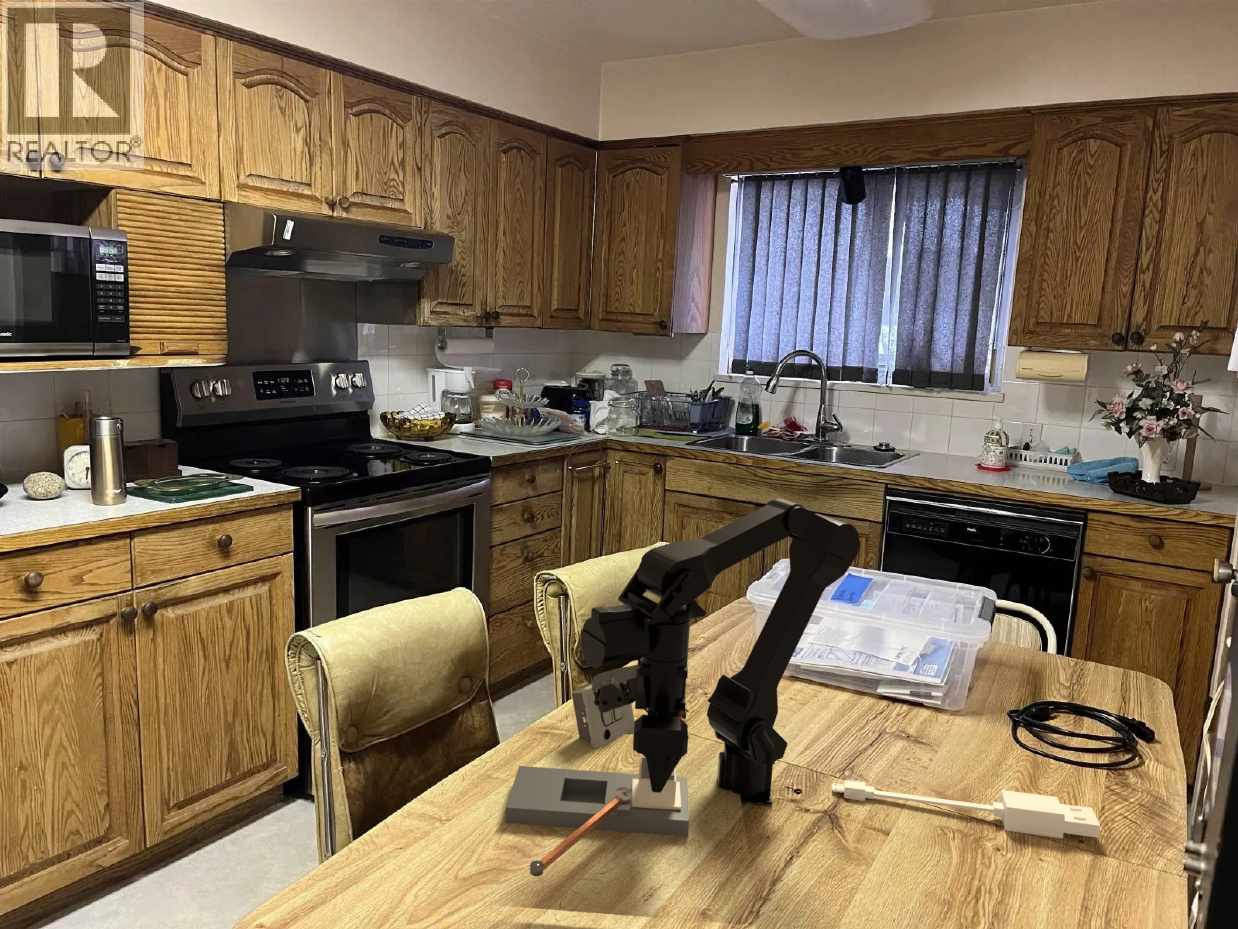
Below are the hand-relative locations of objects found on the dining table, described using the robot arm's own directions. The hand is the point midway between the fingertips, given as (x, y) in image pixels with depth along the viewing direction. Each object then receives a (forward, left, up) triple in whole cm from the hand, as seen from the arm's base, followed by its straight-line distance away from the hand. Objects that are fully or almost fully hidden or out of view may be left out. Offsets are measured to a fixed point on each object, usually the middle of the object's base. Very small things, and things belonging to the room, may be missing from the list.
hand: (656, 772), depth 113 cm
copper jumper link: (+8, +10, -2) cm, 13 cm away
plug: (0, 0, -5) cm, 5 cm away
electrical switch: (+8, -20, -6) cm, 23 cm away
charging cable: (-40, -7, -7) cm, 41 cm away
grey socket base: (+7, 0, -6) cm, 9 cm away
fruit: (-2, -26, -6) cm, 27 cm away
